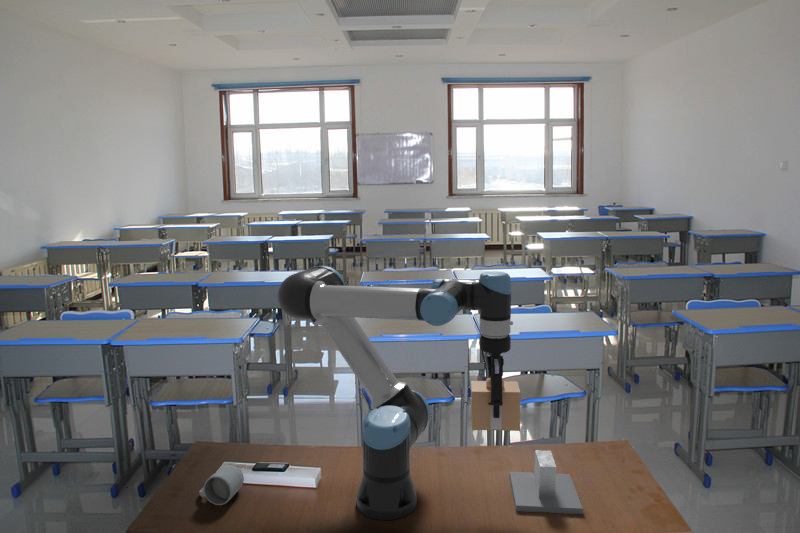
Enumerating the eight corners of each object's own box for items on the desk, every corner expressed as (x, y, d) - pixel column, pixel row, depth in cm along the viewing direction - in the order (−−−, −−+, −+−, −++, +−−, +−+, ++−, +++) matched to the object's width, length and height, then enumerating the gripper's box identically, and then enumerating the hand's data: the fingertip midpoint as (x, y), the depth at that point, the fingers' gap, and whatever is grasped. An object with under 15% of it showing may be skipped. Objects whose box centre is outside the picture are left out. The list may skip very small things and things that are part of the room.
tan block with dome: (471, 429, 143) (471, 385, 141) (471, 417, 151) (470, 374, 149) (520, 430, 142) (520, 386, 140) (516, 418, 149) (517, 375, 148)
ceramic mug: (246, 489, 151) (244, 462, 150) (231, 507, 143) (229, 478, 142) (209, 486, 153) (207, 459, 152) (193, 503, 146) (190, 475, 144)
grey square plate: (516, 511, 141) (517, 473, 140) (509, 476, 157) (510, 442, 156) (582, 514, 140) (584, 476, 138) (569, 479, 156) (571, 444, 154)
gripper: (514, 346, 132) (513, 440, 136) (507, 323, 152) (506, 405, 156) (481, 346, 133) (481, 439, 137) (478, 323, 153) (478, 405, 157)
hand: (494, 421), depth 146 cm, fingers closed on tan block with dome, 7 cm apart
